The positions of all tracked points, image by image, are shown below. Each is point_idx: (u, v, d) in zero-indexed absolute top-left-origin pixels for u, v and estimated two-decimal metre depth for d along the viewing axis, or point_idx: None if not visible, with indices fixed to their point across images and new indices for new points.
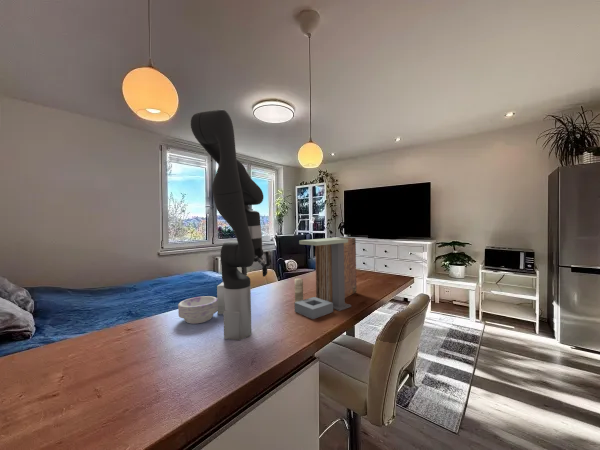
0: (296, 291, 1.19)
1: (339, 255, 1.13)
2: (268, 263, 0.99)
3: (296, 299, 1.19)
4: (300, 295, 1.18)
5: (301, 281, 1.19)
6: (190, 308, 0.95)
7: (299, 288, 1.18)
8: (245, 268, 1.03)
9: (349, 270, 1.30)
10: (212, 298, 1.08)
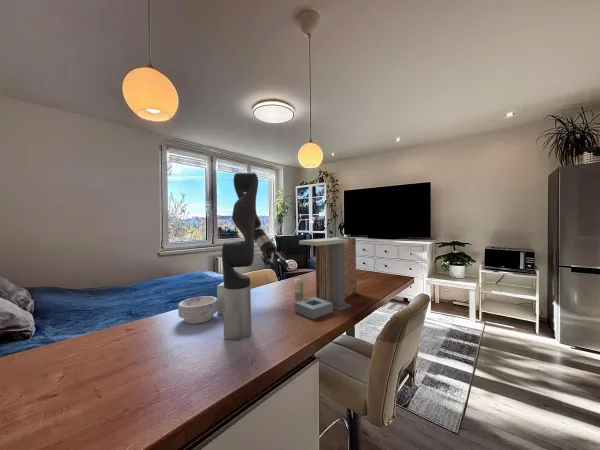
0: (296, 291, 1.19)
1: (339, 255, 1.13)
2: (285, 257, 1.34)
3: (296, 299, 1.19)
4: (300, 295, 1.18)
5: (301, 281, 1.19)
6: (190, 308, 0.95)
7: (299, 288, 1.18)
8: None
9: (349, 270, 1.30)
10: (212, 298, 1.08)
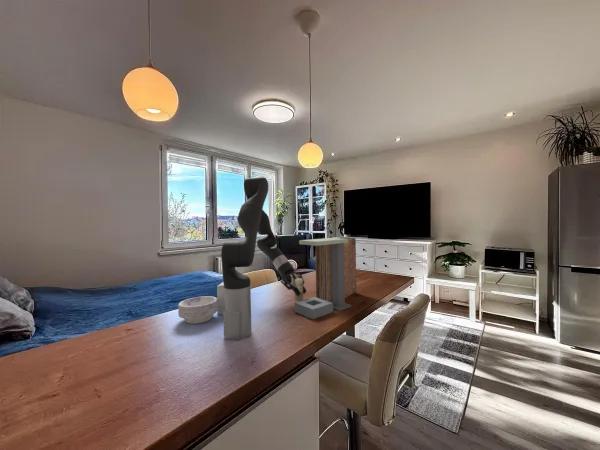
0: None
1: (339, 255, 1.13)
2: (303, 281, 1.24)
3: (296, 299, 1.19)
4: (300, 295, 1.18)
5: (301, 281, 1.19)
6: (190, 308, 0.95)
7: (299, 288, 1.18)
8: None
9: (349, 270, 1.30)
10: (212, 298, 1.08)
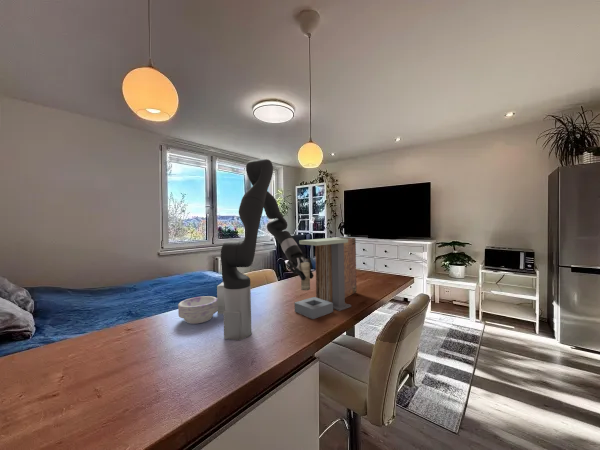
0: None
1: (339, 255, 1.13)
2: (311, 266, 1.17)
3: (302, 284, 1.12)
4: (306, 280, 1.11)
5: (307, 265, 1.11)
6: (190, 308, 0.95)
7: (304, 272, 1.11)
8: None
9: (349, 270, 1.30)
10: (212, 298, 1.08)
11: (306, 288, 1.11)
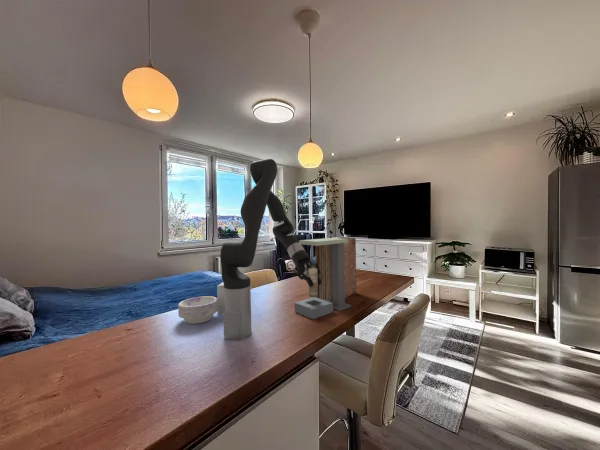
0: None
1: (339, 255, 1.13)
2: (319, 271, 1.13)
3: (310, 290, 1.08)
4: (314, 286, 1.07)
5: (315, 271, 1.07)
6: (190, 308, 0.95)
7: (312, 278, 1.07)
8: None
9: (349, 270, 1.30)
10: (212, 298, 1.08)
11: (314, 295, 1.07)
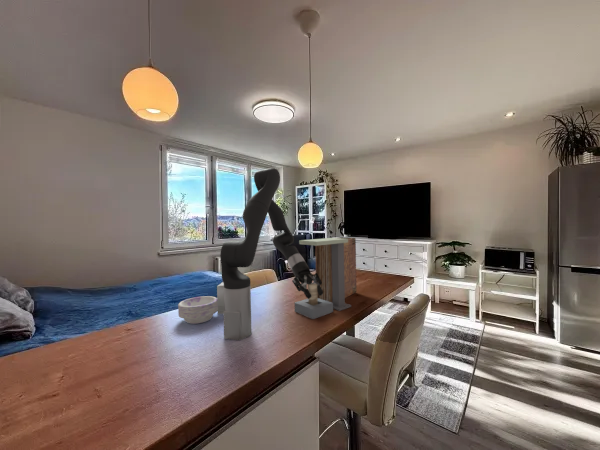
0: (309, 298, 1.08)
1: (339, 255, 1.13)
2: (320, 281, 1.14)
3: None
4: (314, 302, 1.07)
5: (315, 287, 1.07)
6: (190, 308, 0.95)
7: (312, 294, 1.07)
8: None
9: (349, 270, 1.30)
10: (212, 298, 1.08)
11: None
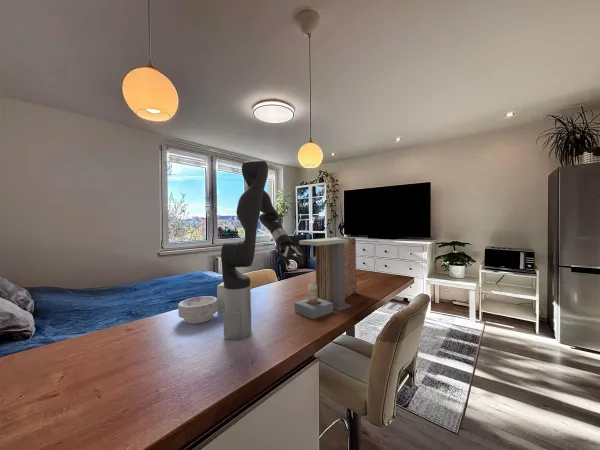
0: (309, 298, 1.08)
1: (339, 255, 1.13)
2: (302, 252, 1.24)
3: None
4: (314, 302, 1.07)
5: (315, 287, 1.07)
6: (190, 308, 0.95)
7: (312, 294, 1.07)
8: None
9: (349, 270, 1.30)
10: (212, 298, 1.08)
11: None
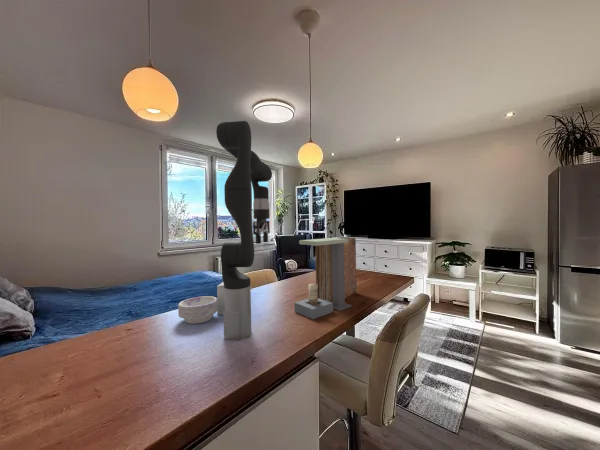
0: (310, 298, 1.08)
1: (339, 255, 1.13)
2: (269, 230, 1.24)
3: None
4: (314, 302, 1.07)
5: (315, 287, 1.07)
6: (190, 308, 0.95)
7: (313, 294, 1.07)
8: None
9: (349, 270, 1.30)
10: (212, 298, 1.08)
11: None
